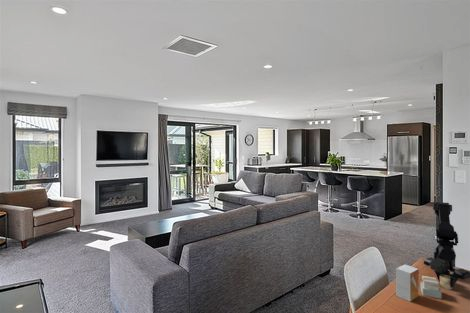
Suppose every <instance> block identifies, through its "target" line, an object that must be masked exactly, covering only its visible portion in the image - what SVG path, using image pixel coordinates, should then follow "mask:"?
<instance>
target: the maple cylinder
mask: <svg viewBox="0 0 470 313" xmlns="http://www.w3.org/2000/svg"><path fill="white" fill-rule="evenodd" d="M450 279H451V278H450V276H448V275H440V282H439V288H440V289H441V288H442V289H444V290H449V291H450V290H453V288H454V287H453V288H451V285H450Z"/></svg>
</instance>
